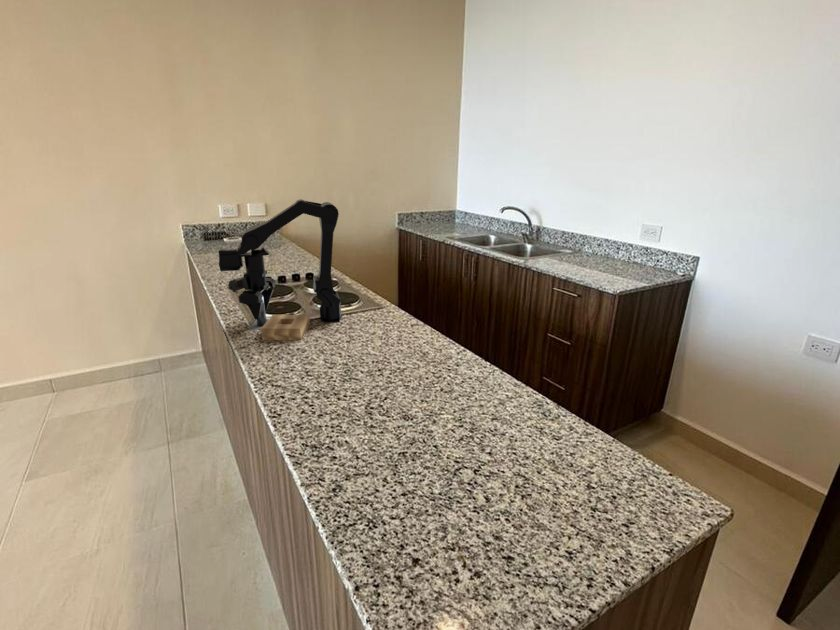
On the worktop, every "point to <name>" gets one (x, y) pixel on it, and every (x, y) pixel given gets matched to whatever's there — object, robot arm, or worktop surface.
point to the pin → (262, 315)
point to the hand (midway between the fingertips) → (260, 314)
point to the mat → (255, 326)
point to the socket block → (285, 327)
